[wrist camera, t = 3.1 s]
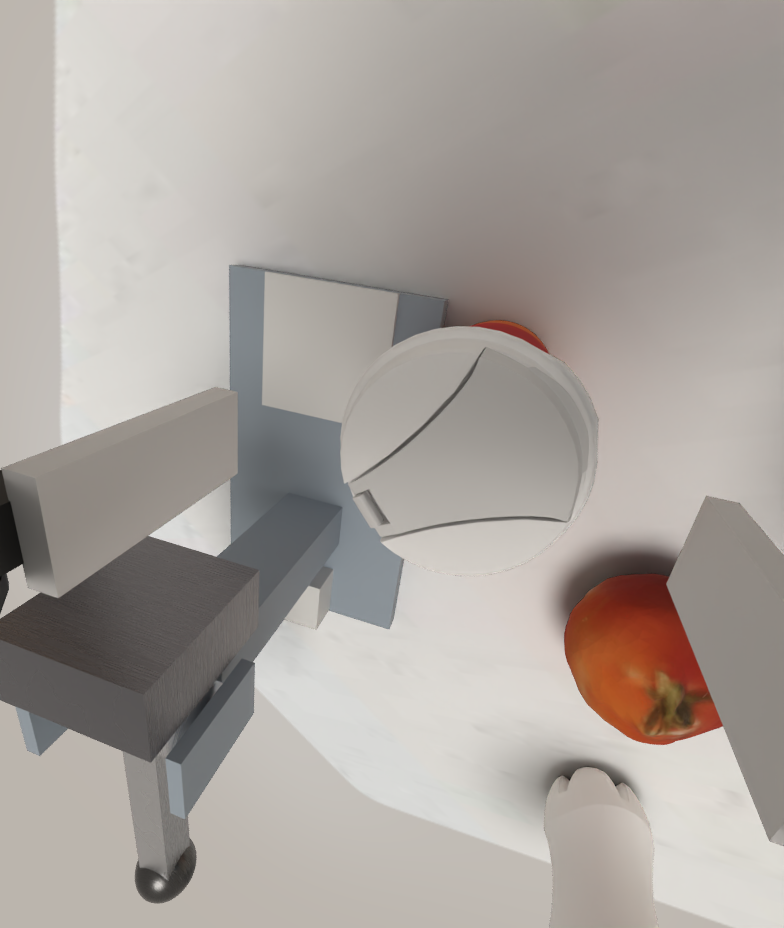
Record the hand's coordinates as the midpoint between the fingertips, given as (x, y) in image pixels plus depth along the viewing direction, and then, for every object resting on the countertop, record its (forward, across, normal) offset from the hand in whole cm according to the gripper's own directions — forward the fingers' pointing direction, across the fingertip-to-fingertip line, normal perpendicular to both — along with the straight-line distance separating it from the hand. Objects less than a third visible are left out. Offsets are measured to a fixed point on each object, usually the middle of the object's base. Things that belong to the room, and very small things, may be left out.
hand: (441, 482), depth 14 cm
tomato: (+16, +12, -13) cm, 24 cm away
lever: (+4, -10, -16) cm, 19 cm away
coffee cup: (+16, 0, 0) cm, 16 cm away
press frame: (+16, -10, -8) cm, 20 cm away
